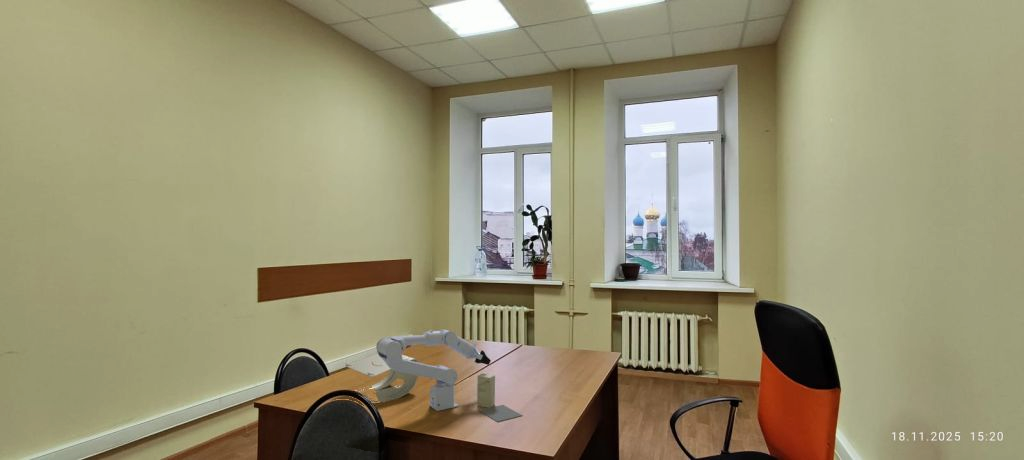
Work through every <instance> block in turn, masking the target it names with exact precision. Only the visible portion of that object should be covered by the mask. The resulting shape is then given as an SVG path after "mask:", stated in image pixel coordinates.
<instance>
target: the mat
mask: <svg viewBox="0 0 1024 460" xmlns="http://www.w3.org/2000/svg"><path fill="white" fill-rule="evenodd" d="M479 412H480V413H482V414H483V415H485V416H487V417H489V418H490V419H492V420H493V421H495V422H497V423H500V422H503V421H508V420H512V419H516V418H519V417H522V416H523V415H522V414H521V413H519V412H517V411H515V410H513V409H512V408H510V407H508V406H506V405H504V404H500V405H496V406H495V405H494V406H492V407H490V408H487V407H486V408H484V409H479Z"/></svg>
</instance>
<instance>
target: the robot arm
mask: <svg viewBox="0 0 1024 460" xmlns="http://www.w3.org/2000/svg"><path fill="white" fill-rule="evenodd" d="M422 344H423V345H424V347H434V346H435V347H436V346H442V345H445V346H447V347H449V348H450V349H451V350H452V351H455V352H457V353H459V354H460V355H461V356H464V357H465V358H466V359H474V363H475V364H483V365H487V366H488V365H490V363H491V361H492V360H491V359H490V358H489V357H488V356H487V354H486V351H484V350H482V349H481V351H480V352H479V350H478V348H477V347H476V346H477V343H476V342H472V343H470V342H469V341H467V340H465V339H463V338H462V337H461V336H459V335H457V334H456V332H455V331H451V330H447V329H439V330H435V331H434V330H432V329H429V330H428V331H425V332H424V333H423V334H421V335H420V334H419V335H417V334H416V335H394V336H392V335H391V336H389V337H382V338H380V339H379V340H377V343H376V352H377V354H378V355H379V356H380V357H381V358H382V359H383V360H384V361H385V363H386V364H387V365H388V366H389V367H390V368H391V369H392V370H395V371H399V372H404V373H408V374H413V375H418V377H419V376H420V377H423V378H430V379H433V380H435V383H436V384H435V385H433V386H430V389H429V407H431V408H432V409H434V410H435V411H436V412H440V411H443V410H448V409H452V408H457V407H459V404H457V403H455V385H456V382H457V380H458V375H459V374H458V372H457V370H456V369H453V368H450V367H447V366H445V365H443V364H439V365H430V364H426V363H421V362H419V363H417V362H412V361H408V360H404V359H403V358H402V355H403V351H405V350H406V348H407V346H414V345H422Z"/></svg>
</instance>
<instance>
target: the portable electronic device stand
mask: <svg viewBox="0 0 1024 460" xmlns="http://www.w3.org/2000/svg"><path fill="white" fill-rule="evenodd" d="M402 358H403V359H404V360H408V361H412V362H417V363H420V362H419V360H418V359H416V358H414V357H411V356H407V355H404V354H402ZM345 367H346V368H349V369H351V370H353V371H356V372H358V373H361V374H363V375H364V376H368V377H370V378H373V377H374V378H376V376H378V375H382V374H383V373H386V372H388V371H389V372H388V373H387V375H386V376H385V377H384V378H383V379H382V380H380V381H378V382H377V383H375V384H373V385H371V386H372V388H369V390H370V389H374V388H375V389H376V390H375V391H376V393H374V392H373V393H374V394H376V396H377V398H378V401H380V402H383V403H386V401H387V402H391V401H393V400H397V399H400V398H402V397H403V396H405V395H408V394H409V393H410V392H411V391H412V390H413V389H414V388H415V386H416V384H417V382H418V379H419V376H418V375H413V374H408V373H404V372H399V371H395V370H392V369H391V368H390V367H389V366H388V365H387V364H386V363H385V361H384V360H383V359H382V358H381V357H380V356H379V355H378V353H376V354H373V355H371V356H367V357H366V358H362V359H359V360H358V361H355V362H352V363H351V362H350V363H349V364H348V363H345ZM397 379H400V380H403V383H402V384H401V385H395V386H390V385H392V384H393V383H394V382H395V381H397ZM389 386H390V387H389ZM397 386H399V387H397ZM354 390H355V391H357V390H356V389H354ZM361 391H362V390H361ZM363 391H364V389H363ZM377 391H378V392H377ZM359 392H360V391H359ZM365 392H366V391H365ZM365 392H364V393H365ZM361 393H362V392H361ZM362 394H363V393H362ZM365 394H366V393H365ZM365 394H364V395H365ZM365 396H367V395H365ZM367 397H368V396H367ZM369 399H370V398H369ZM371 399H372V398H371ZM371 399H370V400H371ZM390 400H391V401H390ZM371 401H372V400H371ZM373 401H374V400H373ZM373 401H372V402H373ZM378 401H374V402H378Z"/></svg>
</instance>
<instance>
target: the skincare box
mask: <svg viewBox="0 0 1024 460" xmlns="http://www.w3.org/2000/svg"><path fill="white" fill-rule="evenodd" d="M476 384H477V386H476V387H477V389H476V391H477V393H476V397H477V398H476V406H477V407H483V408H486V409H487V408H491V407H495V403H496V399H495V398H496V394H495V393H496V375H495V374H489V373H488V374H487V373H483V372H482V373H480V374H478V375H477V383H476Z"/></svg>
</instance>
